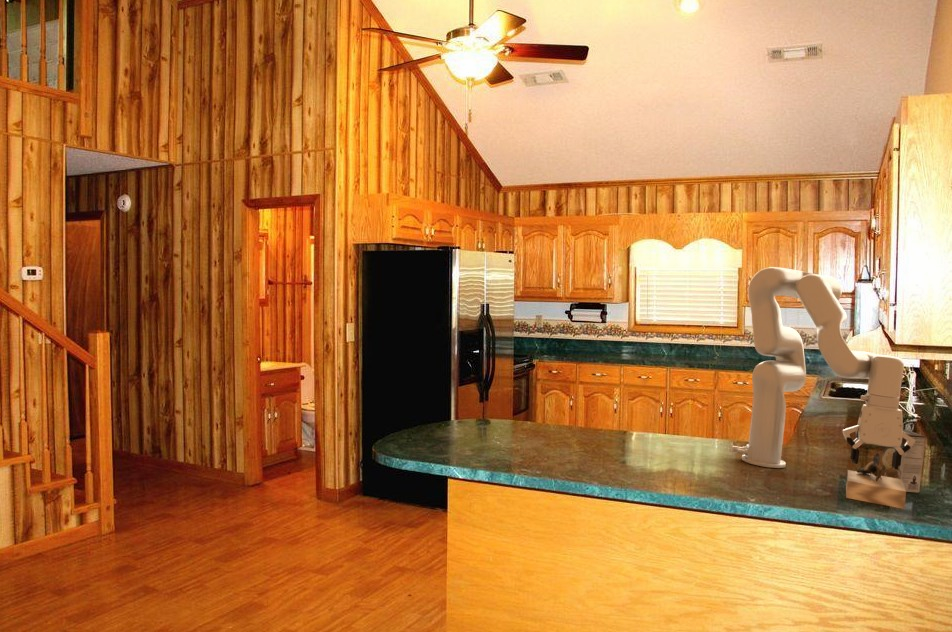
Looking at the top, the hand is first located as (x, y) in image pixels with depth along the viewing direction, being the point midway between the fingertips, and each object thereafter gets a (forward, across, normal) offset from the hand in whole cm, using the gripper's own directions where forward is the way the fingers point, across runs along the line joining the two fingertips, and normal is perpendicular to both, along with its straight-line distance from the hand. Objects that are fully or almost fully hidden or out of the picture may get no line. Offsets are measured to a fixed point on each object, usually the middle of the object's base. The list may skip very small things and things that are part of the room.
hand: (874, 465), depth 188 cm
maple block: (+9, 0, -1) cm, 9 cm away
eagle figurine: (+4, 0, +2) cm, 4 cm away
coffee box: (+8, +11, +15) cm, 21 cm away
